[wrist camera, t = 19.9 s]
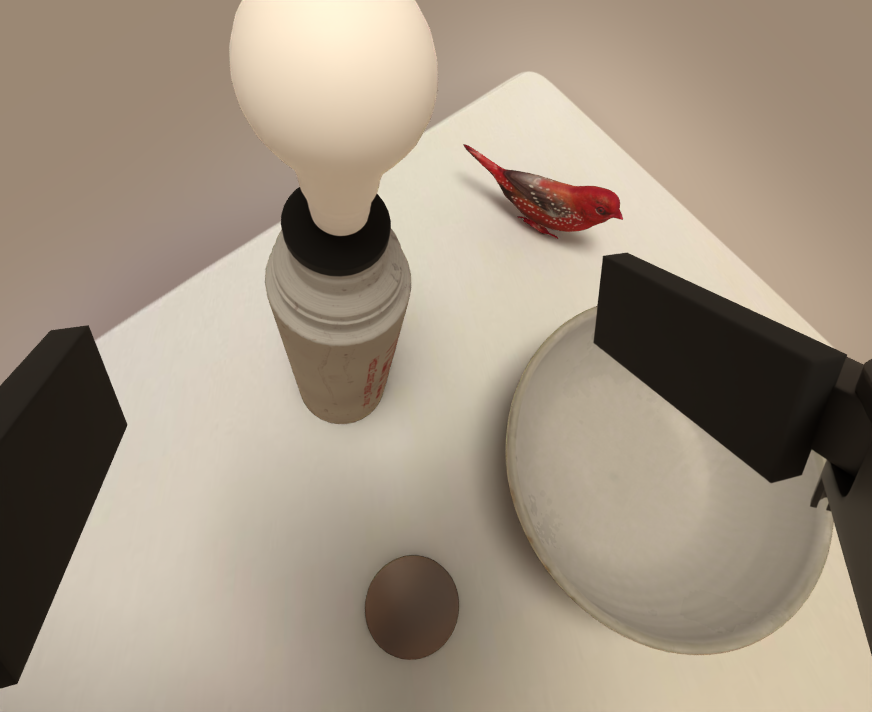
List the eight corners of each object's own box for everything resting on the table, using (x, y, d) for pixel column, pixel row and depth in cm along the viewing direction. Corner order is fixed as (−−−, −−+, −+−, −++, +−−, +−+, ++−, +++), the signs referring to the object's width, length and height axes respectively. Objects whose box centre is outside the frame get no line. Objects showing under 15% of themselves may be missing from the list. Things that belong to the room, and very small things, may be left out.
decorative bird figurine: (583, 267, 58) (629, 217, 49) (445, 190, 58) (465, 126, 49) (592, 248, 59) (639, 195, 50) (457, 173, 59) (478, 106, 50)
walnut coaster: (350, 639, 43) (350, 640, 42) (385, 542, 46) (385, 542, 45) (440, 672, 43) (441, 673, 43) (469, 573, 46) (471, 574, 45)
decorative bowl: (430, 559, 46) (457, 570, 34) (519, 305, 55) (564, 248, 44) (704, 670, 47) (819, 716, 35) (746, 402, 56) (848, 370, 45)
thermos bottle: (401, 377, 51) (460, 215, 24) (347, 441, 48) (349, 337, 22) (337, 327, 51) (328, 116, 25) (281, 388, 48) (204, 223, 22)
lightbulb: (382, 302, 22) (413, 108, 12) (245, 253, 22) (157, 11, 12) (425, 191, 24) (483, -55, 14) (301, 145, 24) (267, -141, 14)
